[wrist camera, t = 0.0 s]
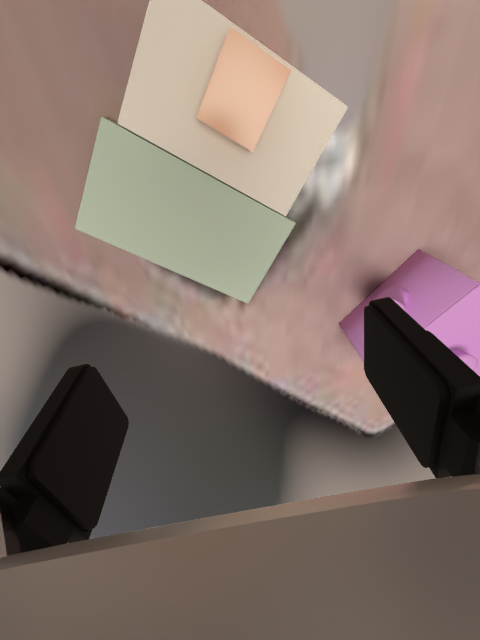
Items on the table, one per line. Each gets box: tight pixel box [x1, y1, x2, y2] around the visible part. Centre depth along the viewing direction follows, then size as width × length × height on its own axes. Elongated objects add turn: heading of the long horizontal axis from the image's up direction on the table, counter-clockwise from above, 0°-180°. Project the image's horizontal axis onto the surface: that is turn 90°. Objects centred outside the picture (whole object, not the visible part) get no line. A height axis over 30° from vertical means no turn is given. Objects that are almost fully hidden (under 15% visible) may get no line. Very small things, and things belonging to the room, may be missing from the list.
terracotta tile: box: [196, 27, 291, 152], centre depth 28 cm, size 7×6×3 cm
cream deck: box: [117, 0, 348, 216], centre depth 31 cm, size 12×20×3 cm, turn 63°
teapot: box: [339, 249, 480, 376], centre depth 41 cm, size 15×25×14 cm, turn 52°
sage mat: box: [75, 116, 296, 303], centre depth 37 cm, size 13×24×2 cm, turn 63°
